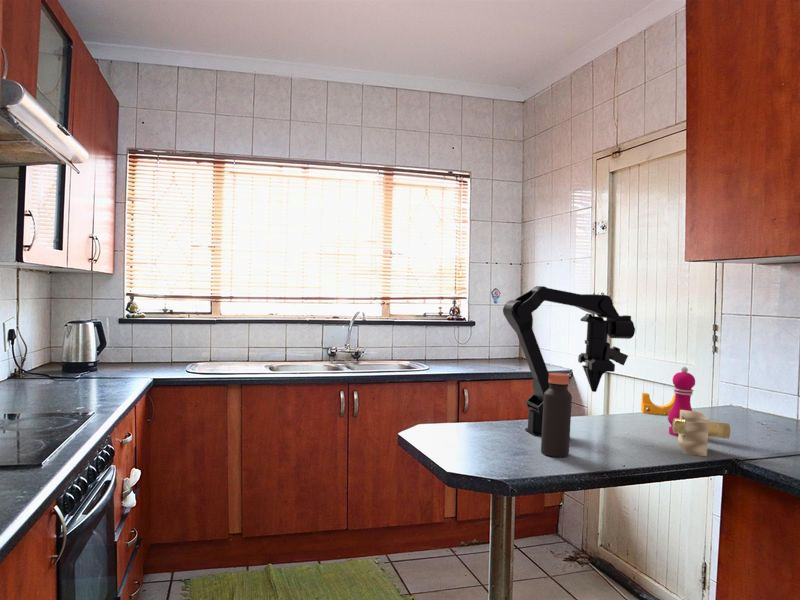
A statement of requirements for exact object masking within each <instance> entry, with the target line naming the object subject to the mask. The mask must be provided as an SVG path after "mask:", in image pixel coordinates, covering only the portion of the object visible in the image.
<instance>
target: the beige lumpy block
mask: <svg viewBox="0 0 800 600" xmlns="http://www.w3.org/2000/svg"><path fill="white" fill-rule="evenodd" d="M680 419H685V434H679V436H677V438H678V440H677V445H679V447H680V449H681V451H682V452H683V453H684V454H685V455H691V456H701V457H708V446H709V445H708V443H709V437H708V430H709V422H710V419H709V418H708V417H707V416H706V415H704V414H703V413H702V412H701V411H696V410H692V411H688V410H680Z"/></svg>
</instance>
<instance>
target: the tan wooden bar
mask: <svg viewBox="0 0 800 600" xmlns="http://www.w3.org/2000/svg"><path fill="white" fill-rule="evenodd" d="M673 433H677V434H685V419H679V418H674V419H673ZM730 437H731V426H730V423H727V422H718V421H709V430H708V438H715V439H716V438H717V439H723V440H725V439H727V440H729V439H730Z"/></svg>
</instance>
